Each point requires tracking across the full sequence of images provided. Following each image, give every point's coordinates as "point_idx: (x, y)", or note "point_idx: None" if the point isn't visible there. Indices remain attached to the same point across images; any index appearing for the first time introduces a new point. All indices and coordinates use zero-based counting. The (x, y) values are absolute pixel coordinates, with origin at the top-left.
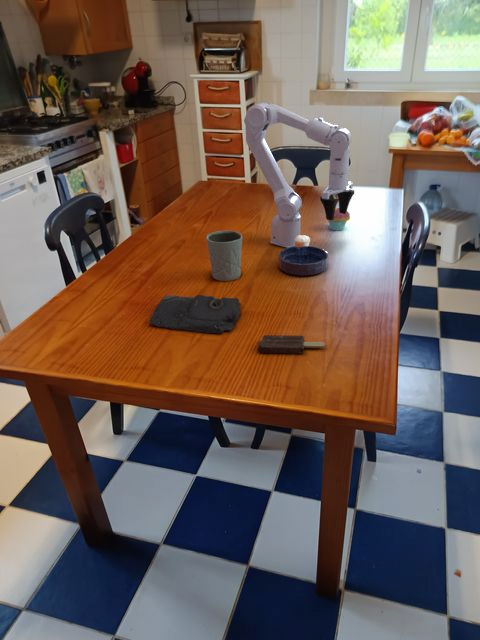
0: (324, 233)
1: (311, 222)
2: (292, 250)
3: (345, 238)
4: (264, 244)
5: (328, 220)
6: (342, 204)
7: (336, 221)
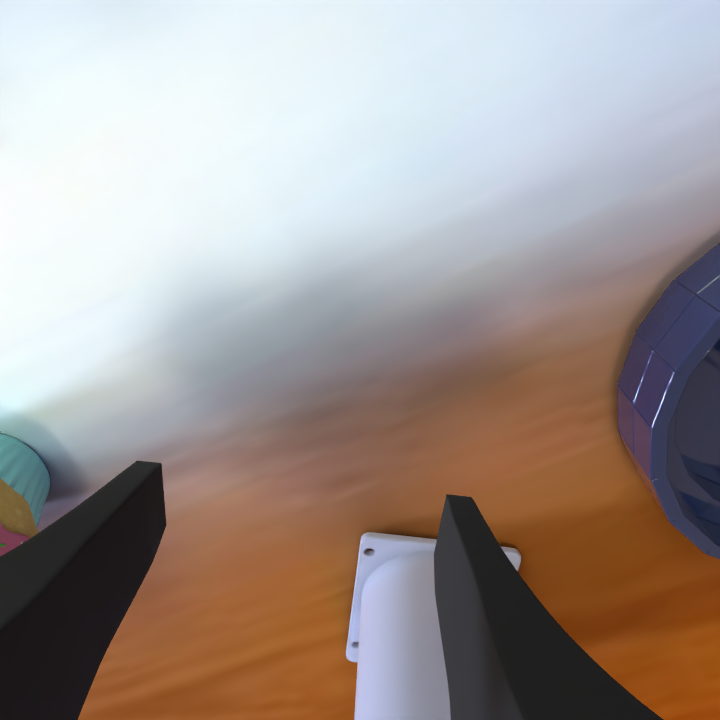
0: None
1: None
2: (709, 527)
3: (126, 344)
4: None
5: None
6: (107, 591)
7: (23, 504)
